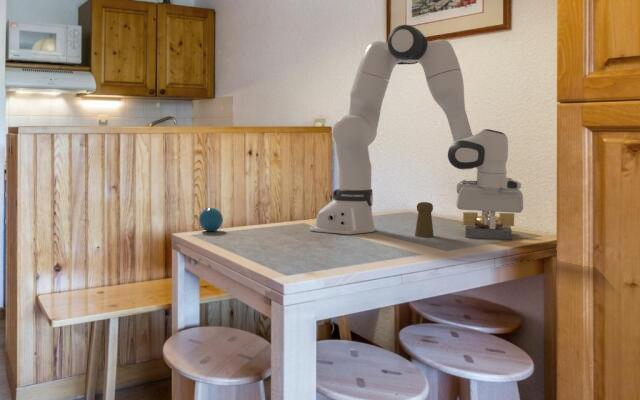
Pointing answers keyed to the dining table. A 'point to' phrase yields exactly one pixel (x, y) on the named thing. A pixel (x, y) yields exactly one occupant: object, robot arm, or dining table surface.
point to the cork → (424, 220)
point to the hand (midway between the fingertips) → (487, 225)
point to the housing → (488, 232)
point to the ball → (210, 219)
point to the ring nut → (494, 221)
